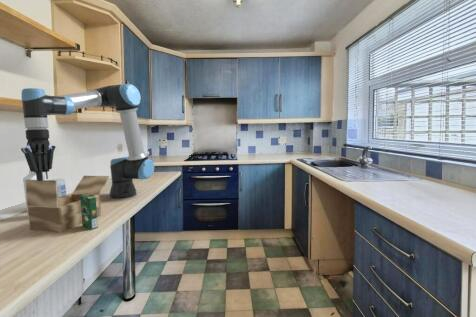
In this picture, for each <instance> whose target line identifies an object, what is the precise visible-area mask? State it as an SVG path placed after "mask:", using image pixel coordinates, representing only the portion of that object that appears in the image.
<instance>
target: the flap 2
mask: <svg viewBox="0 0 476 317" xmlns="http://www.w3.org/2000/svg"><path fill="white" fill-rule="evenodd" d="M109 179H110V176H109V175H83V176H82V178H81V179H80V181H79V182H78V184H77V186H75V189H74V190H73V191H72V193H73V194H98V195H100V194H101V192H102V191H103V189H104V187H105V186H106V184H107V182H108V180H109Z"/></svg>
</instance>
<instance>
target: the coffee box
mask: <svg viewBox="0 0 476 317" xmlns="http://www.w3.org/2000/svg"><path fill="white" fill-rule="evenodd" d="M80 201H81V212H82V226H83V227H84V228H88V229H90V230H95V229H98V228H99V224H98V217H97V208H96V197H92V196H89V195H82V196H80Z"/></svg>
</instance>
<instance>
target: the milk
mask: <svg viewBox="0 0 476 317" xmlns="http://www.w3.org/2000/svg"><path fill="white" fill-rule="evenodd" d="M22 180H23V190H24V197H25V198H24V199H25V207H26V214H27V218H28V219H29V214H28V206H27V193H26V180H37V178H36V172H31V171H30V170H29V171H28V174H27V175H26V176H24V177H23V178H22Z"/></svg>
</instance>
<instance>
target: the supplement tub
mask: <svg viewBox="0 0 476 317" xmlns="http://www.w3.org/2000/svg"><path fill="white" fill-rule="evenodd" d="M52 180H53V181H56V182H57V198H58V197H61V196H65V195H67V190H66V188H67V187H66V182H65V179H64V178H55V179H52Z"/></svg>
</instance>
